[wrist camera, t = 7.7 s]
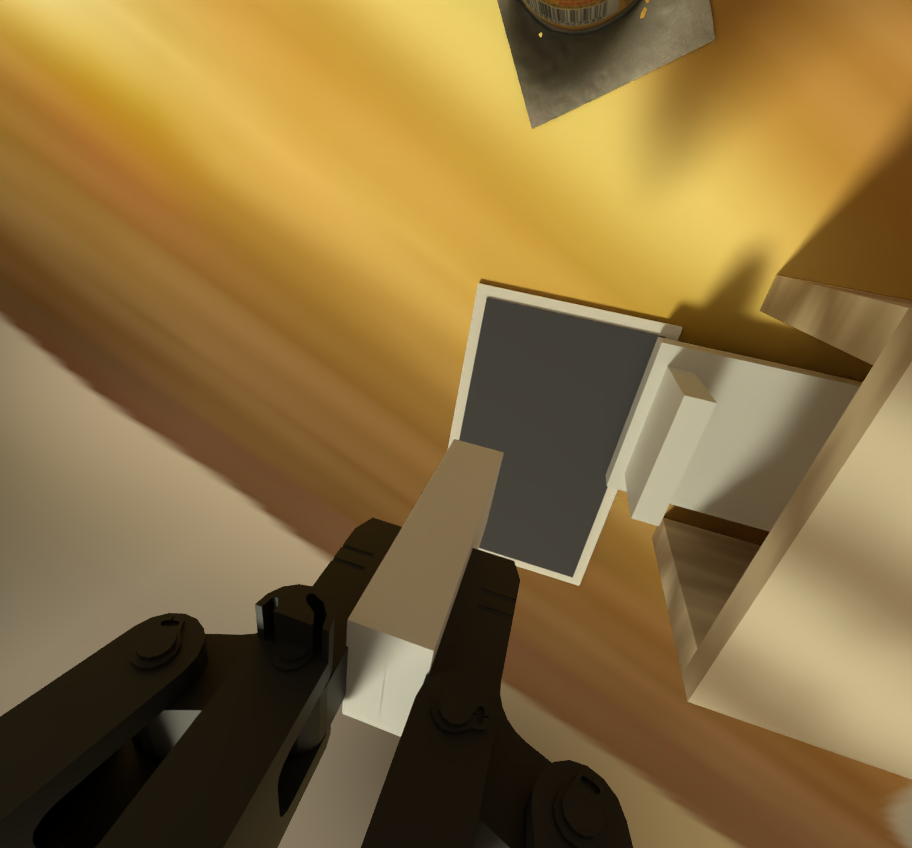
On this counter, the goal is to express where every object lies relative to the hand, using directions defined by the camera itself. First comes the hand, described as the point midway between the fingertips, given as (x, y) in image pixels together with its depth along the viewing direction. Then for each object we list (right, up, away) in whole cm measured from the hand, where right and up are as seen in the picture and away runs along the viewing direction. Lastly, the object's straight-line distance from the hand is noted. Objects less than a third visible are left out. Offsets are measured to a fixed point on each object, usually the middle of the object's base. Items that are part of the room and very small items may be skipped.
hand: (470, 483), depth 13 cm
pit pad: (+4, 0, +13) cm, 13 cm away
